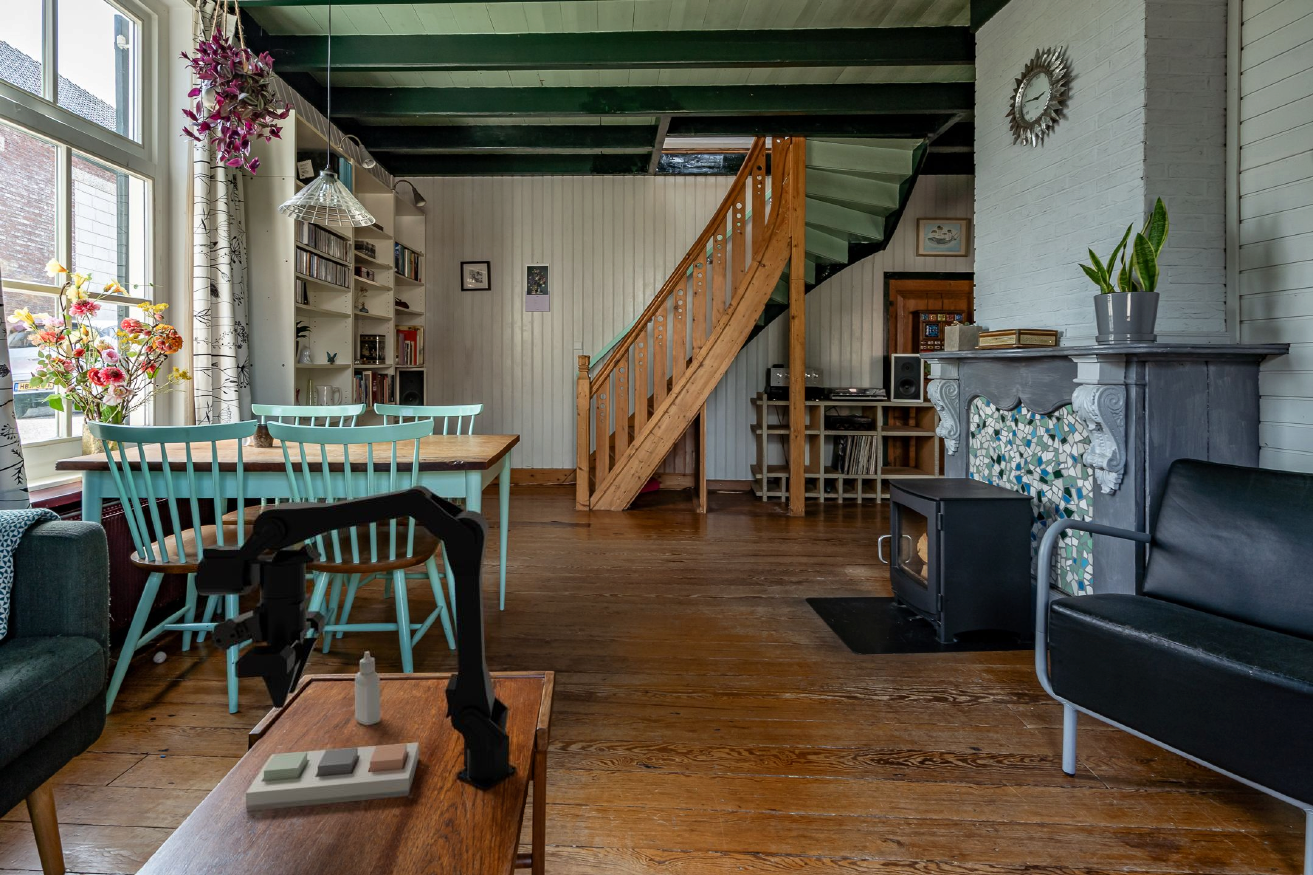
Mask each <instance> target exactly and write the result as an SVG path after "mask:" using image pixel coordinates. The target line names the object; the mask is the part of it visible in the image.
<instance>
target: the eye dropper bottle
mask: <svg viewBox="0 0 1313 875" xmlns="http://www.w3.org/2000/svg"><path fill="white" fill-rule="evenodd" d="M375 660H376V658H375V657H371V654H370V651H364V655H363V658H362V659H360V660H359V671H358V672H357V673H356V674H355V676H354V716H355V720H356V721H357V722H358V723H359V724H361V725H363V726H371V725H374V724H378V723H379V722H380V721H381V680H380V676H379V674H378V673H377V671H375V669H376V663H375V662H376V661H375Z"/></svg>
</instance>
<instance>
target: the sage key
mask: <svg viewBox="0 0 1313 875" xmlns="http://www.w3.org/2000/svg"><path fill="white" fill-rule="evenodd" d="M296 752H297V753H294V752H284V753H285V754H282V753H274V754H275V755H274V756H273V758H272V759H271V761H270V762H269V764H268V765H267V767H266V768H265V770H264V781H275V780H287V779H298V778H300V777H301V775H302V773H303V771H304V770H305V768H306V766H307V751H296Z"/></svg>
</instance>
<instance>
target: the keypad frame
mask: <svg viewBox="0 0 1313 875" xmlns="http://www.w3.org/2000/svg"><path fill="white" fill-rule="evenodd" d="M405 744H407V758H406V761H405V764H404V768H403V769H400V770H389V771H378V772H370V760H371V758H372V755H373V753H374V750H375V748H376V746H377V745H369V746H357V747H355V748H358V761H357V764H356V766H355V768H354V771H353V773H352V774H343V775H332V776H321V777H318V764H319V763H320V761H321V759H322V757H323V755H324V753H325V751H326V750H327V749H321V750H310V751H306V752H307V766H306V768H305V770H304V771H303V773H302V775H301V777H300V778H298V779H287V780H275V781H264V770H265V768H266V767H267V765H268V764H269V762H270V761H271V759H272V758H273V756H274V755H275V754H276V753H273V754H271V755H270V757H269V758H268V759H267V761H266V762H265V764H264V765H263V767H262V768H261V770H260V771H259V773H258V774H257V776H256V777H255V779H254V780H253V782H252V783H251V785H250V786H249V788H248V789H247V791H245V806H246V807H245V808H246V810H245V811H246V812H250V811H251V812H252V811H261V810H273V809H284V808H294V807H303V806H314V805H326V804H335V803H337V804H338V803H344V802H345V803H348V802H356V801H357V802H359V801H369V800H377V799H387V798H388V799H390V798H397V797H398V798H400V797H409V796H410V792H411V789H412V784H413V780H414V777H415V773H416V769H417V765H418V762H419V760H420V759H419V749H420V748H419V742H411V743H410V742H409V743H407V742H406V743H405ZM392 745H396V744H392ZM380 746H384V744H383V745H380ZM334 749H335V748H333V749H331V750H334ZM343 749H346V748H345V747H343ZM297 752H298V751H296V752H293V753H297ZM285 753H286V752H284V753H281V754H285Z"/></svg>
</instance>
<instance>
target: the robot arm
mask: <svg viewBox="0 0 1313 875" xmlns="http://www.w3.org/2000/svg"><path fill="white" fill-rule="evenodd" d="M406 517H407V518H408V517H410V518H412V519H413V520H415V521H417V523H419V524H420V525H421V526H422V527H423V528H424V529H425V530H427V531H428V532H429V533H430V534H431V535H433V536H434V537H436V538H437V539H439V540H440V541H441V542H443V547H444V550H445V551H444V552H445V555H446V559H447V562H448V563H447V564H448V566H449V568H450V570H451V573H452V576H453V583H454V601H455V602H454V603H455V604H454V605H455V606H454V607H455V628H456V649H457V651H456V652H457V655H456V656H457V673H451V674H450V676H449V679H448V682H447V685H446V688H445V699H446V702H447V712H446V715H445V719H448V718H450V723H451V727H452V728H453V730H455V731H457V732H458V733H459V734H461V735H462V738H463V740H464V741H463V767H464V768H463V769H461V770H460V771H458V772H457V773H456V777H457V778H458V779H460V780H462V781H464V782H467V783H469V784H470V785H472V786H475V787H476V788H479V789H481V790H483V791H488V790H490V789H492V788H493V787H494V786H496V785H498V784H499V783H501V782H502V781H504V780H505V779H507V778H509V777H510V776H512V775H513V774H515V773H517V771H518V769H517V766H514V765H512V764H510V735H509V734H507V724H508V716H509V710H510V709H509V707H508V706H507V705H506V704H505V703H503V702H502V701H501V700H500V699H499V698H498V697H497V696H496V695H495V690H494V685H493V680H492V677H491V673H490V671H489V669H488V665H487V662H486V652H485V651H486V650H485V649H486V648H485V622H484V598H483V597H484V596H483V568H484V561H485V557H486V556H485V555H486V550H487V543H488V536H489V530H490V529H489V528H490V527H489V522H488V520H487V518H486V517H485V516H483V515H482V514H481V512H478V511H475V510H469V509H468V510H465V509H464V508H462V507H460V506H459V505H457V503H456V504H455V503H454V502H452V501H450V500H448V499H445V498H443V497H442V496H439V495H437V494H436V493H435V492H433V491H431V490H430V489H429V488H427V486H424V485H414V486H412V487H410V488H405V489H401V490H395V491H390V492H383V493H379V494H375V495H374V494H373V495H367V496H363V497H356V498H352V499H346V500H340V501H335V502H314V501H298V502H297V501H296V502H295V501H292V502H291V501H290V502H289V501H288V502H285V503H280V504H279V505H276V506H274V507H271V508H269V509H266V510H264V511H262V512H260V513H258V515H257V517H256V518H255V519H254V521H253V525H252V533H251V534H250V536H248V538H247V539H246V540H245V542H244V543H243V545H241V546H225V545H213V544H212V545H208V546H206V547H203V549H202V557H201V558H200V560H199V563H198V565H197V568H196V573H195V574H194V576H193V581H194V582H193V583H194V587H195V591H196V592H197V594H198V595H200V596H231V595H232V596H233V595H234V596H237V595H238V596H239V595H242V596H243V595H248V594H249V593H250V592H251V591H252V589H253V588H255V587H257V586H259V599H260V600H259V602H258V603H257V604H255V605H254V606H253V608H252V610H251V611H248V612H245V613H242V614H240V615H237V616H233V617H231V618H227V619H226V620H225V621H223V622H222V621H219V622H218V623H216V624H215V625H214V626H213V629H212V631H211V632H210V635H211V639H210V643H211V644H212V645H215V646H216V647H218V648H219V649H220V651H221V652H225V651H228V650H230V649H231V648H232V647H234V646H237V645H240V644H243V643H245V642H248V641H250V640H251V644H253V645H252V646H251V647H250V648H249V649H248V650H246V652H245V653H244V654H243V655H241V657H239V659H237V660H236V661H235V662H234V676H235V678H237V679H246V678H250V679H251V678H262V680H263V682H264V684H265V687H266V689H267V691H268V694H269V697H270V699H271V702H272V705H273V707H274V708H275V709H282V708H284V707H285V704H286V702H287V699H288V697H289V694H294V693H295V692H296V690H297V688H298V685H299V683H300V680H301V678H302V676H303V673H304V670H305V668H306V666H307V664H308V661H309V659H310V657H311V655H312V653H313V650H314V648H315V646H316V643H317V642H318V637H308V632H309V631H310V630H314V633H315V634H321V633H322V632H323V631H324V630H325V629H326V627H325V626H326V623H325V621H326V620H325V619H326V618H325V615H324V614H322V612H320V610H314V611H313V610H311V611H309V610H308V611H307V606H308V604H309V603H310V602H311V594H309V593H307V578H306V577H307V576H306V575H307V570H306V569H307V568H306V564H313V563H315V562H316V561H317V560H319V559H320V558H322V555H323V554H322V553H321V552H319V551H318V550H317V549H315V548H313V547H312V545H311V543H308V542H307V543H305V544H304V545H302V546H301V547H300V548H299V549H297V548H294V549H292V548H291V549H288V548H289V547H291V546H295V545H297V544H300V543H302V542H304V541H307V540H310V539H312V538H315V537H317V536H320V535H323V534H325V533H327V532H333V531H337V530H343V529H348V528H353V527H359V526H365V525H369V524H375V523H381V522H384V521H390V520H391V521H392V520H396V519H401V518H406ZM267 551H276V552H275V554H271V555H269V554H268V555H264V553H265V552H267ZM261 554H263V555H261ZM263 643H265V644H266V645H255V644H263Z"/></svg>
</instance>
